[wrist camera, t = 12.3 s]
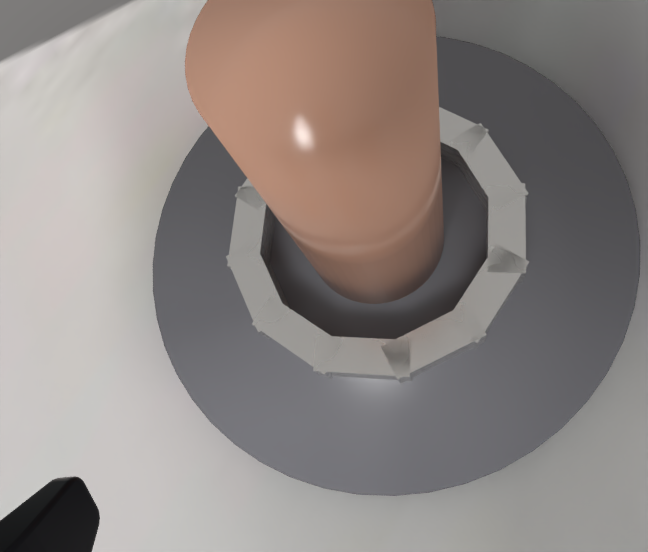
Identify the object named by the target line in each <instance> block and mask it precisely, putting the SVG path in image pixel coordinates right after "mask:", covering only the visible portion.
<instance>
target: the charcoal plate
mask: <svg viewBox="0 0 648 552" xmlns="http://www.w3.org/2000/svg"><path fill="white" fill-rule="evenodd" d="M436 44H437V69H438V95H439V107H441V108H443V109H445V110H447V111H449V112H452V113H454V114H456V115H458V116H460V117H462V118H464V119H467V120H469V121H471V122H473V123H475V124H477V125H478V124H480V123H481V124H482V126H483V127H484V128H486V129H488V130H489V132H488V134H489V136H490V137H491V139H492V140H493V142H494V143H495V145H496V146H497V148H498V149H499V151H500V152H501V154H502V155H503V157H504V158H505V159H506V161H507V162H508V164H509V165H510V167H511V168H512V170H513V171H514V173H515V174H516V176H517V177H518V179H519V180H520V182H521V183H525V189H526V190H527V192H528V193H529V194H528V197H527V201H526V204H525V214H526V260H527V261H529V264H528V266H527V269H526V274H525V277H524V279H523V282H522V283H518V284H517V286H516V287H515V289H514V291H513V292H512V294H511V295H510V297H509V298H508V300H507V302H506V303H505V305H504V306H503V308H502V309H501V311H500V313H499V314H498V316H497V317H496V319H495V320H494V322H493V324H492V325H491V327H490V328H489V330H488V331H487V333H486V334H487V336H486V339H485V342H483V343H481V344H479V346H478V347H477V349H475V348H471V349H469V350H467V351H465V352H463V353H461V354H459V355H457V356H455V357H453V358H451V359H449V360H447V361H445V362H443V363H441V364H439V365H437V366H435V367H433V368H431V369H429V370H427V371H425V372H423V373H421V374H419V375H417V376H415V377H413V378H412V381H405V382H403V383H401V384H400V382H399V381H398V380H384V379H368V378H353V377H337V376H333V378H332V379H330V378H329V377H327V376H322V375H319V374H318V373H316V372H314V371H313V368H314V367H313V366H311V365H310V364H308V363H307V362H305V361H304V360H302V359H301V358H300V357H298V356H297V355H295V354H294V353H292V352H291V351H290V350H288V349H287V348H285V347H284V346H282V345H281V344H279V343H278V342H277V341H275V340H274V339H272V338H269V339H268V338H266V337H265V336H263V335H262V334H260V333H258V331H257V329H256V327H255V326H254V325H252V323H253V319H252V317H251V314H250V312H249V310H248V307H247V305H246V303H245V300H244V298H243V296H242V293H241V291H240V288H239V286H238V284H237V281H236V279H235V277H234V274H233V272H232V270H231V269H230V268H229V267H227V264H228V260H227V258H226V256H228V255H229V250H230V243H231V236H232V229H233V222H234V215H235V208H236V201H237V198H236V197H235V195H236V193H237V192H238V186H242V185H243V184H244V182H245V181H246V180H247V177H246V176H245V174H244V173H243V172H242V170H241V169H240V167H239V166H238V165H237V163H236V162H235V161H234V159H233V158H232V157H231V155H230V154H229V153H228V151H227V150H226V149H225V147H224V146H223V144H222V143H221V142H220V140H219V139H218V138H217V136H216V135H215V134H214V132H213V131H212V130H211V128H210V127H208V128H207V129H206V130H205V131H204V133H203V134H202V135H201V136H200V137H199V139H198V140H197V142H196V143H195V145H194V146H193V148H192V149H191V151H190V152H189V154H188V155H187V157H186V158H185V160H184V162H183V164H182V166H181V168H180V170H179V172H178V173H177V175H176V177H175V179H174V181H173V183H172V186H171V188H170V191H169V194H168V196H167V199H166V202H165V204H164V207H163V210H162V214H161V218H160V222H159V226H158V230H157V234H156V241H155V250H154V258H153V294H154V301H155V308H156V315H157V321H158V324H159V328H160V331H161V335H162V338H163V342H164V346H165V348H166V351H167V353H168V355H169V358H170V360H171V362H172V364H173V367H174V369H175V371H176V374H177V375H178V377H179V379H180V380H181V382H182V384H183V385H184V387H185V388H186V390H187V392H188V393H189V395H190V397H191V398H192V400H193V401H194V402H195V403H196V405H197V406H198V407H199V408H200V410H201V411H202V412H203V413H204V414H205V416H206V417H207V418H208V419H209V421H210V422H211V423H212V424H213V425H214V426H215V427H216V428H218V429H219V430H220V431H221V432H222V433H223V434H224V435H225V436H226V437H227V438H228V439H230V440H231V441H232V442H233V443H234V444H235V445H237V446H238V447H239V448H241V449H242V450H244V451H245V452H247V453H248V454H250V455H251V456H253V457H254V458H255V459H257V460H258V461H260V462H261V463H263V464H265V465H267V466H269V467H271V468H273V469H275V470H277V471H279V472H281V473H283V474H285V475H287V476H289V477H292V478H295V479H298V480H301V481H304V482H307V483H310V484H313V485H316V486H319V487H322V488H326V489H331V490H337V491H342V492H348V493H353V494H361V495H386V496H397V495H407V494H417V493H427V492H433V491H437V490H441V489H445V488H449V487H453V486H457V485H461V484H466V483H468V482H471V481H473V480H476V479H478V478H481V477H483V476H486V475H488V474H491V473H493V472H496V471H498V470H501V469H502V468H504V467H506V466H508V465H509V464H511V463H513V462H514V461H516V460H518V459H520V458H521V457H523V456H525V455H527V454H528V453H530V452H532V451H533V450H535V449H536V448H537V447H538V446H540V445H541V444H542V443H543V442H545V441H546V440H547V439H549V438H550V437H551V436H552V435H554V434H555V433H556V432H558V431H559V430H560V429H561V428H562V427H563V426H564V425H565V424H566V423H567V422H568V421H569V420H570V419H571V418H572V417H573V416H574V415H575V414H576V413H577V412H578V411H579V409H580V408H581V407H582V406H583V405H584V404H585V403H586V402H587V401H588V399H589V398H590V397H591V395H592V394H593V392H594V391H595V389H596V388H597V387H598V385H599V384H600V382H601V381H602V380H603V378H604V377H605V375H606V374H607V372H608V371H609V369H610V367H611V365H612V363H613V361H614V359H615V357H616V355H617V353H618V351H619V349H620V347H621V345H622V343H623V341H624V338H625V334H626V331H627V328H628V325H629V322H630V319H631V316H632V313H633V310H634V306H635V300H636V294H637V287H638V281H639V275H640V237H639V230H638V223H637V217H636V210H635V206H634V202H633V199H632V196H631V193H630V189H629V186H628V183H627V179H626V177H625V175H624V173H623V170H622V168H621V166H620V164H619V162H618V160H617V158H616V156H615V154H614V151H613V149H612V148H611V146H610V145H609V143H608V142H607V140H606V139H605V137H604V136H603V134H602V133H601V131H600V130H599V128H598V127H597V125H596V124H595V123H594V122H593V121H592V119H591V118H590V117H589V116H588V115H587V114H586V113H585V112H584V110H583V109H582V108H581V107H580V106H579V105H578V104H577V103H576V101H574V100H573V99H572V98H571V97H570V96H569V95H567V94H566V93H565V92H564V91H563V90H562V89H560V88H559V87H558V86H557V85H556V84H555V83H553V82H552V81H551V80H549V79H547V78H546V77H544V76H543V75H541V74H540V73H538V72H537V71H535V70H534V69H532V68H531V67H529V66H527V65H525V64H523V63H521V62H519V61H517V60H515V59H513V58H511V57H509V56H507V55H505V54H503V53H500V52H497V51H494V50H491V49H488V48H485V47H482V46H480V45H477V44H473V43H469V42H464V41H459V40H455V39H450V38H445V37H436ZM441 172H442V198H443V224H444V245H443V251H442V255H441V258H440V261H439V263H438V265H437V267H436V269H435V270H434V272H433V274H432V275H431V276H430V277H429V279H428V280H427V281H426V282H425V283H424V284H423V285H422V286H421V287H419V288H418V289H417V290H416V291H414V292H413V293H411V294H409V295H408V296H406V297H403V298H401V299H399V300H395V301H392V302H388V303H381V304H367V303H360V302H356V301H352V300H350V299H347V298H345V297H343V296H341V295H339V294H338V293H336V292H335V291H333V290H332V289H331V288H330V287H329V286H328V285H327V284H326V283H325V282H324V281H323V280H322V278H321V277H320V276H319V274H318V273H317V272H316V270H315V269H314V268H313V266H312V265H311V263H310V262H309V261H308V259H307V258H306V257H305V255H304V254H303V253H302V251H301V250H300V249H299V247H298V246H297V245H296V243H295V242H294V240H293V239H292V238H291V236H290V235H289V234H288V232H287V231H286V230H285V228H284V227H283V226H282V224H281V223H280V222H279V220H278V219H277V217H276V216H275V224H274V233H273V241H272V249H271V258H270V265H271V267H272V270H273V272H274V274H275V276H276V278H277V281H278V283H279V285H280V287H281V289H282V292H283V294H284V296H285V298H286V300H287V303H288V305H289V307H290V309H291V310H293V311H294V312H296V313H297V314H299V315H300V316H302V317H304V318H305V319H307V320H308V321H310V322H311V323H313V324H314V325H316V326H317V327H319V328H320V329H322V330H323V331H325V332H326V333H328V334H329V335H331V336H336V337H357V338H377V339H397V338H399V337H401V336H403V335H405V334H407V333H409V332H411V331H413V330H415V329H417V328H419V327H421V326H423V325H425V324H427V323H429V322H431V321H433V320H435V319H437V318H439V317H441V316H443V315H445V314H447V313H449V312H451V311H453V310H454V308H455V307H456V305H457V304H458V302H459V301H460V299H461V298H462V296H463V295H464V293H465V291H466V290H467V288H468V287H469V285H470V284H471V282H472V281H473V279H474V278H475V276H476V275H477V273H478V271H479V270H480V268H481V267H482V265H483V264H484V262H485V261H486V220H487V211H486V210H485V208H484V206H483V205H482V203H481V202H480V200H479V199H478V197H477V195H476V194H475V192H474V191H473V189H472V188H471V186H470V184H469V183H468V181H467V180H466V178H465V177H464V175H463V173H462V172H461V170H460V169H459V167H458V166H457V165H455V164H453V163H451V162H449V161H447V160H445V159H443V158H441Z"/></svg>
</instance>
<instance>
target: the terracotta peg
mask: <svg viewBox="0 0 648 552" xmlns="http://www.w3.org/2000/svg"><path fill="white" fill-rule="evenodd" d="M185 75H186V80H187V86H188V90H189V93H190V95H191V98H192V101H193V103H194V105H195V106H196V108H197V110H198V112H199V113H200V115H201V116H202V117H203V119H204V120H205V121H206V123H207V124H208V126H209V127H210V128H211V130H212V131H213V132H214V134H215V135H216V136H217V138H218V139H219V140H220V142H221V143H222V144H223V146H224V147H225V149H226V150H227V151H228V153H229V154H230V155H231V157H232V158H233V159H234V161H235V162H236V163H237V165H238V166H239V167H240V169H241V170H242V172H243V173H244V174H245V176H246V177H247V178H248V180H249V181H250V182H251V184H252V185H253V186H254V188H255V189H256V190H257V192H258V193H259V194H260V196H261V197H262V199H263V200H264V201H265V203H266V204H267V205H268V207H269V208H270V209H271V211H272V212H273V213H274V215H275V216H276V217H277V219H278V220H279V222H280V223H281V224H282V226H283V227H284V228H285V230H286V231H287V232H288V234H289V235H290V236H291V238H292V239H293V240H294V242H295V243H296V245H297V246H298V247H299V249H300V250H301V251H302V253H303V254H304V255H305V257H306V258H307V259H308V261H309V262H310V263H311V265H312V266H313V268H314V269H315V270H316V272H317V273H318V274H319V276H320V277H321V278H322V280H323V281H324V282H325V283H326V284H327V285H328V286H329V287H330V288H331V289H332V290H333V291H335V292H336V293H338V294H339V295H341V296H343V297H345V298H347V299H350V300H352V301H356V302H360V303H367V304H381V303H388V302H392V301H395V300H399V299H401V298H403V297H406V296H408V295H409V294H411V293H413V292H414V291H416V290H417V289H418V288H419V287H421V286H422V285H423V284H424V283H425V282H426V281H427V280H428V279H429V277H430V276H431V275H432V274H433V272H434V270H435V269H436V267H437V265H438V263H439V261H440V258H441V255H442V251H443V245H444V224H443V198H442V172H441V147H440V121H439V95H438V69H437V44H436V18H435V12H434V7H433V2H432V0H208V1H207V2H206V4H205V5H204V7H203V8H202V10H201V12H200V14H199V15H198V17H197V19H196V21H195V23H194V26H193V28H192V31H191V33H190V37H189V41H188V45H187V49H186V58H185Z"/></svg>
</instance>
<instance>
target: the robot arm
mask: <svg viewBox="0 0 648 552" xmlns="http://www.w3.org/2000/svg"><path fill="white" fill-rule="evenodd" d="M99 520H100V516H99V510H98V508H97V506H96V504H95V502H94V500H93V498H92V496H91V494H90V493H89V491H88V489H87V487H86V485H85V483H84V482H83V480H82V479H80V478H79V477H64V478H57V479H54V480H52V481H51V482H49V483H48V484H47V485H45V486H44V487H43V488H42V489H40V490H39V491H38V492H36V493H35V494H34V495H33V496H31V497H30V498H29V499H28V500H26V501H25V502H24V503H22V504H21V505H20V506H19V507H17V508H16V509H15V510H13V511H12V512H11V513H10V514H8V515H7V516H6V517H5V518H3V519H2V520H1V521H0V552H92V549H93V545H94V541H95V538H96V534H97V530H98V527H99Z"/></svg>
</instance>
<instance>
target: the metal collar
mask: <svg viewBox="0 0 648 552" xmlns="http://www.w3.org/2000/svg"><path fill="white" fill-rule="evenodd" d="M439 121H440V147H441V158H443V159H445V160H447V161H449V162H451V163H453V164H455V165H457V166H458V167H459V169H460V170H461V172H462V173H463V175H464V177H465V178H466V180H467V181H468V183H469V184H470V186H471V188H472V189H473V191H474V192H475V194H476V195H477V197H478V199H479V200H480V202H481V203H482V205H483V206H484V208H485V210H486V211H487V220H486V261H485V262H484V264H483V265H482V267H481V268H480V270H479V271H478V273H477V275H476V276H475V278H474V279H473V281H472V282H471V284H470V285H469V287H468V288H467V290H466V291H465V293H464V295H463V296H462V298H461V299H460V301H459V302H458V304H457V305H456V307H455V308H454V310H453V311H451V312H449V313H447V314H445V315H443V316H441V317H439V318H437V319H435V320H433V321H431V322H429V323H427V324H425V325H423V326H421V327H419V328H417V329H415V330H413V331H411V332H409V333H407V334H405V335H403V336H401V337H399V338H397V339H377V338H357V337H336V336H331V335H329V334H328V333H326V332H325V331H323V330H322V329H320V328H319V327H317V326H316V325H314V324H313V323H311V322H310V321H308V320H307V319H305V318H304V317H302V316H300V315H299V314H297V313H296V312H294V311H293V310H291V309H290V307H289V305H288V303H287V300H286V298H285V296H284V294H283V292H282V289H281V287H280V285H279V283H278V281H277V278H276V276H275V274H274V272H273V270H272V267H271V265H270V258H271V249H272V241H273V233H274V224H275V215H274V213H273V212H272V211H271V209H270V208H269V207H268V205H267V204H266V203H265V201H264V200H263V199H262V197H261V196H260V194H259V193H258V192H257V190H256V189H255V188H254V186H253V185H252V184H251V182H250V181H249V180H248V178H247V180H246V181H245V182H244V184H243V185H242V186H238V192H237V193H236V195H235V197H236V198H237V201H236V208H235V215H234V222H233V229H232V236H231V243H230V250H229V255H228V256H226V258H227V260H228V264H227V267H229V268H230V269H231V270H232V272H233V274H234V277H235V279H236V281H237V284H238V286H239V288H240V291H241V293H242V296H243V298H244V300H245V303H246V305H247V307H248V310H249V312H250V314H251V317H252V319H253V323H252V325H254V326H255V327H256V329H257V331H258V333H260V334H262V335H263V336H265V337H266V338H268V339H269V338H272V339H274V340H275V341H277V342H278V343H279V344H281V345H282V346H284V347H285V348H287V349H288V350H290V351H291V352H292V353H294V354H295V355H297V356H298V357H300V358H301V359H302V360H304V361H305V362H307V363H308V364H310V365H311V366H313V367H314V368H313V371H314V372H316V373H318V374H319V375H322V376H327V377H329V378H330V379H332V378H333V376H337V377H353V378H368V379H384V380H398V381H399V382H400V384H401V383H403V382H405V381H412V378H413V377H415V376H417V375H419V374H421V373H423V372H425V371H427V370H429V369H431V368H433V367H435V366H437V365H439V364H441V363H443V362H445V361H447V360H449V359H451V358H453V357H455V356H457V355H459V354H461V353H463V352H465V351H467V350H469V349H471V348H475V349H477V347H478V346H479V344H481V343H483V342H485V339H486V336H487V334H486V333H487V331H488V330H489V328H490V327H491V325H492V324H493V322H494V320H495V319H496V317H497V316H498V314H499V313H500V311H501V309H502V308H503V306H504V305H505V303H506V302H507V300H508V298H509V297H510V295H511V294H512V292H513V291H514V289H515V287H516V286H517V284H518V283H522V282H523V279H524V277H525V274H526V269H527V266H528V264H529V261H527V260H526V214H525V204H526V201H527V197H528V194H529V193H528V192H527V190H526V189H525V183H521V182H520V180H519V179H518V177H517V176H516V174H515V173H514V171H513V170H512V168H511V167H510V165H509V164H508V162H507V161H506V159H505V158H504V157H503V155H502V154H501V152H500V151H499V149H498V148H497V146H496V145H495V143H494V142H493V140H492V139H491V137H490V136H489V134H488V132H489V130H488V129H486V128H484V127H483V126H482V124H481V123H480V124H478V125H477V124H475V123H473V122H471V121H469V120H467V119H464V118H462V117H460V116H458V115H456V114H454V113H452V112H449V111H447V110H445V109H443V108H441V107H439Z"/></svg>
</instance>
